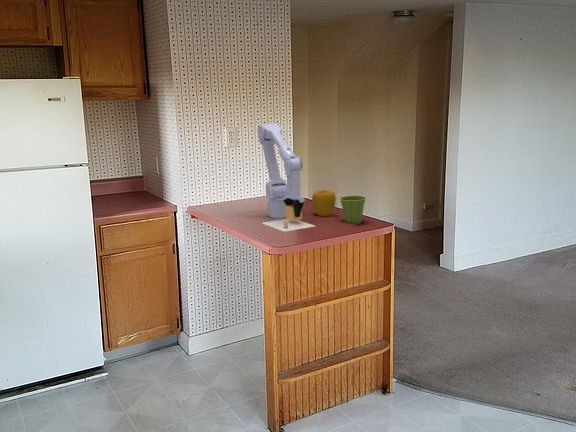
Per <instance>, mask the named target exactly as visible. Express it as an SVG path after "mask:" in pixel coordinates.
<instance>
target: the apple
mask: <svg viewBox="0 0 576 432" xmlns="http://www.w3.org/2000/svg"><path fill="white" fill-rule="evenodd" d="M336 198H337V197H336V193H335V192H333V191H332V190H328V189H327V190H325V189H321V190H320V189H319V190H316V191H315V192H314V193H313V194H312V197H311V202H312V207H313V210H314V211H315V213H316V215H317V216H319V217H332V216H333V214H334V211H335V206H336V200H337V199H336Z"/></svg>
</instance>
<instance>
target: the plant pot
mask: <svg viewBox="0 0 576 432" xmlns="http://www.w3.org/2000/svg"><path fill="white" fill-rule="evenodd" d="M366 199H367V197H366V196H364V195H345V196H341V197H339V201H340V204H341V207H342V213H343V218H344V221H345V222H347V223H352V224H356V225H359V224H361V222H362V219H363V212H364V205H365V203H366Z"/></svg>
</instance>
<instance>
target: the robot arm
mask: <svg viewBox="0 0 576 432" xmlns="http://www.w3.org/2000/svg"><path fill="white" fill-rule="evenodd" d="M282 130H283V129H282V126H281V124H280V123H278V122H276V123H268V124H267V123H266V124H264V123H263V124H262V123H261V124H259V126H258V127H257V136H258V141H259V144H260V145H262V150H263V154H264V159H265V164H266V167H267V168H266V169H267V172H268V176H269V180H268V181H267V182H266V183H265V196H266V197H267V198H266V199H268V201H267V202H266V213H267V216H269V217H270V218H273V219H284V218H287V216H286V206H287V205H293V207H294V214H295V217H300V214H301V210H302V211H303V207H304V205H305V197H303V196H302V195H301V171H302V169H303V161H302V159H301V157H298V155H297V156H296V155H295V153H294V151H293V149H292V147H291V146H289V145H287V143H286V142H285V140H284V137H283V135H282V132H283V131H282ZM275 146H276V147H277V148H278V149H279V150H278V154H279V156H280V159H282V161H283V168H284V171H285V176H286V179H283V178H282V177H281V174H280V168H279V164H278V160H277V155H276V151H275Z"/></svg>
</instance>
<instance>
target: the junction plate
mask: <svg viewBox="0 0 576 432" xmlns="http://www.w3.org/2000/svg"><path fill="white" fill-rule="evenodd" d="M261 224H263V225H265V226H267V227H271V228H273V229H276V230H279V231H280V232H291V231H296V230H302V229H307V228H313V227H314V228H315V225H314V224H311V223H308V222H305V221H302V220H295V221H291V220H289V219H287V218H285V219H284V218H282V219H277V220H276V219H275V220H271V221H264V222H261Z"/></svg>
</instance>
